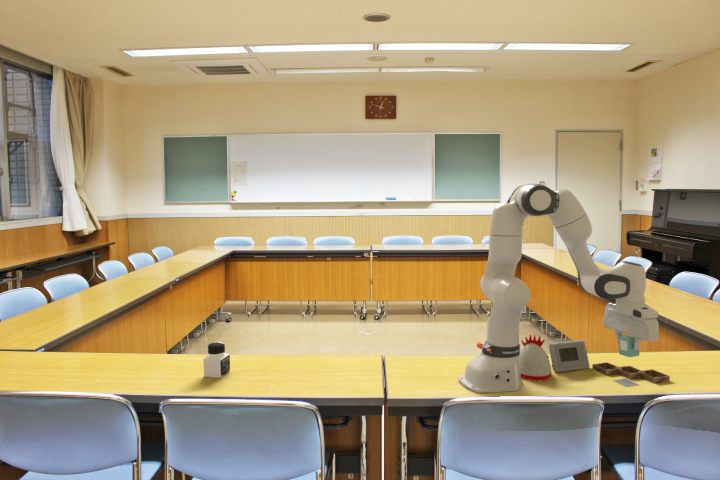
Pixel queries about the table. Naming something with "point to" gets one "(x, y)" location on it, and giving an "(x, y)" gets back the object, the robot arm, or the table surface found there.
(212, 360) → the medicine bottle
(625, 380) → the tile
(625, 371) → the box
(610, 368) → the box
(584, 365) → the digital clock
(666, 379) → the box
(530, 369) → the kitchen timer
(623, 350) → the teal rectangular block
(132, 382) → the table surface
